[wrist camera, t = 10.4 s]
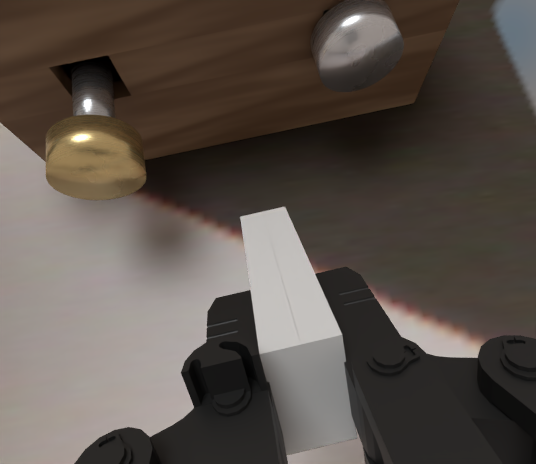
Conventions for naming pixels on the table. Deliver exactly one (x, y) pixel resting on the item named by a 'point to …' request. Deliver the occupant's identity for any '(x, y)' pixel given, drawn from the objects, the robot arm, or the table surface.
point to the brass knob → (94, 142)
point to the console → (195, 66)
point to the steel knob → (356, 44)
